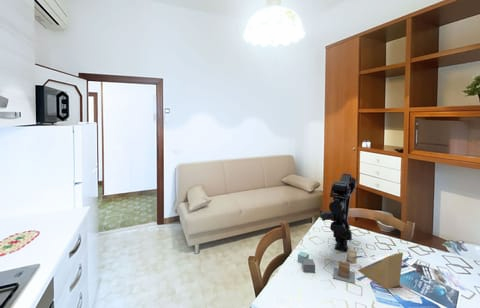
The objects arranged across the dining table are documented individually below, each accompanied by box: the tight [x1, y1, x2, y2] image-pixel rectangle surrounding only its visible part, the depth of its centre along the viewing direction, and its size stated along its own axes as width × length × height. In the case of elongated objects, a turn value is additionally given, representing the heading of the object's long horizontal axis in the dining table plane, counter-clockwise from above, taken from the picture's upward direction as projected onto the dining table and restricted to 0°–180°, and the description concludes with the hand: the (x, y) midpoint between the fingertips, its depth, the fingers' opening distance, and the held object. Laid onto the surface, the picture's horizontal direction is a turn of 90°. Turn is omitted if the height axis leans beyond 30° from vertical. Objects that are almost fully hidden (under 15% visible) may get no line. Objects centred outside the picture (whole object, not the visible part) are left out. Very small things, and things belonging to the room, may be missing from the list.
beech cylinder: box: [346, 248, 357, 264], centre depth 126 cm, size 4×4×5 cm
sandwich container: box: [357, 252, 404, 290], centre depth 112 cm, size 9×15×15 cm, turn 23°
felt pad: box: [332, 267, 356, 285], centre depth 113 cm, size 9×9×1 cm
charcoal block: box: [301, 258, 316, 274], centre depth 118 cm, size 5×5×4 cm
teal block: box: [297, 250, 310, 264], centre depth 125 cm, size 4×4×4 cm
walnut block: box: [338, 260, 351, 278], centre depth 113 cm, size 4×4×5 cm
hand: (337, 237), depth 125 cm, fingers open, 9 cm apart
